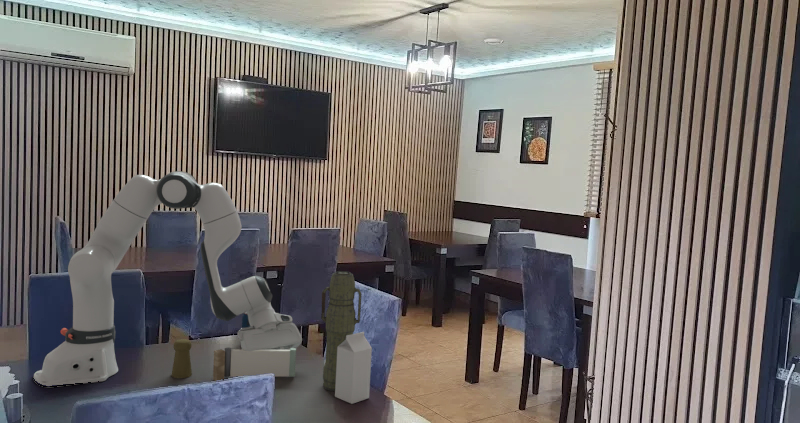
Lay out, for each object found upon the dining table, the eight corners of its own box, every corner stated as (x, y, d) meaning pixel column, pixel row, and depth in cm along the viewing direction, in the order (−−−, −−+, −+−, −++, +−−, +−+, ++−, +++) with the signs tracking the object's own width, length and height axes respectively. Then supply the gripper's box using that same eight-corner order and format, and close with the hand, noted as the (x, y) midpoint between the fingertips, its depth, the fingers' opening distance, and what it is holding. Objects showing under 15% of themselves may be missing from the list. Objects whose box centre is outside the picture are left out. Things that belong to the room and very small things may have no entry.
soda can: (255, 341, 232) (256, 309, 231) (264, 345, 226) (265, 313, 225) (237, 343, 227) (238, 311, 226) (246, 348, 222) (247, 315, 221)
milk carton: (369, 398, 182) (372, 334, 180) (351, 404, 176) (355, 338, 175) (352, 391, 186) (355, 329, 185) (334, 397, 181) (337, 333, 179)
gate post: (216, 381, 188) (217, 352, 187) (212, 379, 190) (214, 350, 189) (223, 380, 189) (225, 351, 189) (220, 378, 191) (221, 349, 190)
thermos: (317, 380, 194) (323, 269, 191) (355, 381, 195) (361, 270, 192) (317, 391, 185) (322, 274, 182) (357, 391, 186) (363, 275, 184)
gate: (223, 377, 190) (224, 349, 190) (224, 374, 192) (225, 347, 191) (294, 376, 194) (296, 349, 193) (294, 374, 196) (296, 347, 195)
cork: (185, 379, 188) (186, 343, 188) (167, 376, 190) (168, 341, 189) (195, 373, 194) (196, 338, 194) (178, 370, 196) (179, 336, 195)
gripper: (239, 323, 194) (254, 363, 187) (295, 315, 207) (310, 352, 201) (232, 334, 197) (246, 373, 191) (287, 325, 211) (302, 361, 205)
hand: (279, 362), depth 196 cm, fingers closed
